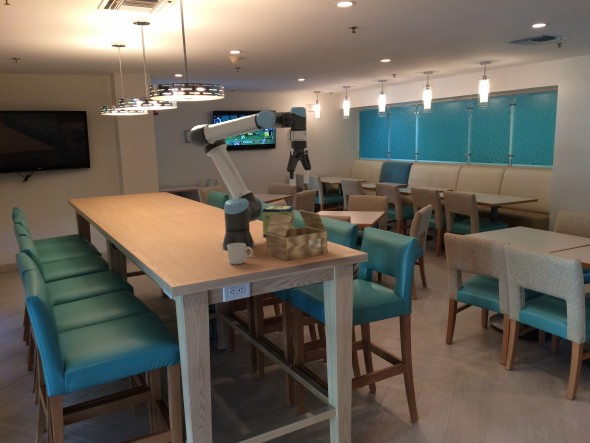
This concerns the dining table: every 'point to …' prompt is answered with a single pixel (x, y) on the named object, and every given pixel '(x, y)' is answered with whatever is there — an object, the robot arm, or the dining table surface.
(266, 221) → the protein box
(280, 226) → the flap left
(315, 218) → the flap right
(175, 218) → the dining table surface
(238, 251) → the cup
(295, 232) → the carton
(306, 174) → the robot arm
